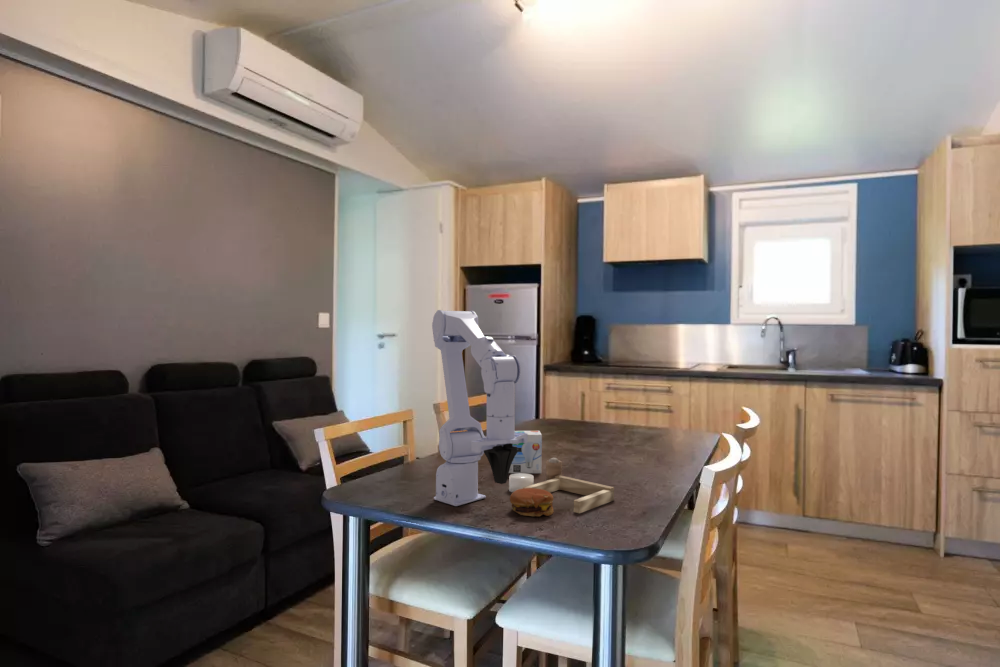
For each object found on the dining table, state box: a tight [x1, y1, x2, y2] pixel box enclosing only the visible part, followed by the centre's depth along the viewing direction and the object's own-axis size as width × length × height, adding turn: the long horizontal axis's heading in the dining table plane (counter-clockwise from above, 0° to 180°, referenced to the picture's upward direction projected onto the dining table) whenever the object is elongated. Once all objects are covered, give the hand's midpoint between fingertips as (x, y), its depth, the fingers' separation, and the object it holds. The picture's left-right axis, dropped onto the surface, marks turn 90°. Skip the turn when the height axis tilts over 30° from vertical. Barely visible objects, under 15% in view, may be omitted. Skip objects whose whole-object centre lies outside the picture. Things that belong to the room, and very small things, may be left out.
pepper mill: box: [545, 457, 563, 481], centre depth 143 cm, size 4×4×7 cm
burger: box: [509, 488, 555, 518], centre depth 122 cm, size 10×9×5 cm
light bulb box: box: [509, 430, 543, 474], centre depth 158 cm, size 11×7×11 cm, turn 92°
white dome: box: [508, 473, 535, 493], centre depth 138 cm, size 6×6×4 cm
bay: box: [523, 475, 615, 514], centre depth 131 cm, size 14×16×3 cm
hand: (500, 482), depth 114 cm, fingers closed
